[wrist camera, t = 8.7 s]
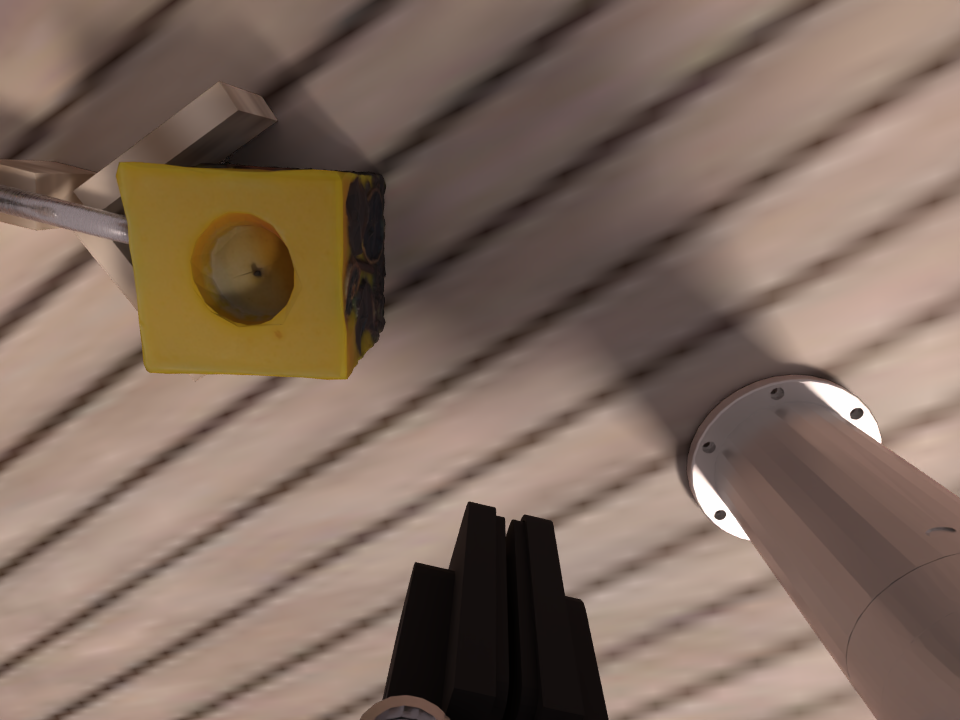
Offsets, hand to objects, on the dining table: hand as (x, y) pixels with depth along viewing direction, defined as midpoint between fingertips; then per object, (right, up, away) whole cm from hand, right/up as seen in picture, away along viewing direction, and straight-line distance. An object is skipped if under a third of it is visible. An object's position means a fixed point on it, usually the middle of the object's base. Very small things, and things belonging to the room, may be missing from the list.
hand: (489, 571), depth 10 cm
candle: (-11, +11, +23) cm, 28 cm away
